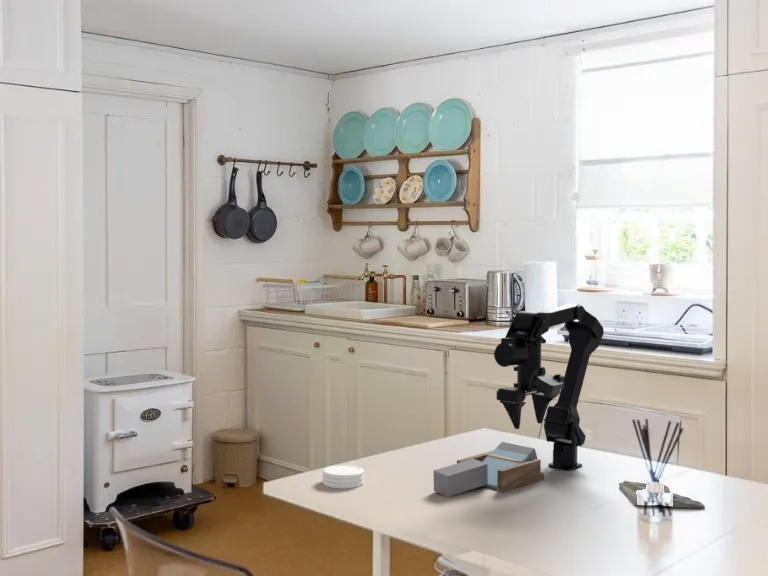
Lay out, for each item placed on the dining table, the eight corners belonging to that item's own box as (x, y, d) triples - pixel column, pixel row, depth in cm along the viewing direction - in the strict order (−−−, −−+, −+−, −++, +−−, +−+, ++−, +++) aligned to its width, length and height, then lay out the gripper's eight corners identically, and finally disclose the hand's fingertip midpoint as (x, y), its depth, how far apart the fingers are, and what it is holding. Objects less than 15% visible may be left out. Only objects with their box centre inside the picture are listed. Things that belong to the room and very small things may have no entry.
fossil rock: (616, 489, 215) (616, 479, 215) (678, 489, 215) (678, 479, 215) (637, 511, 197) (637, 500, 197) (705, 511, 197) (705, 500, 197)
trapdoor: (537, 458, 223) (534, 447, 221) (500, 496, 213) (497, 485, 212) (505, 451, 230) (502, 441, 229) (467, 488, 220) (464, 477, 219)
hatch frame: (544, 478, 221) (544, 458, 221) (502, 492, 210) (502, 471, 210) (498, 468, 231) (499, 448, 231) (456, 480, 220) (456, 460, 219)
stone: (472, 458, 217) (433, 470, 209) (487, 463, 213) (447, 476, 205) (473, 478, 218) (433, 491, 210) (487, 484, 214) (448, 497, 206)
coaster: (335, 492, 211) (335, 477, 211) (315, 482, 219) (315, 468, 219) (371, 485, 216) (371, 471, 216) (350, 476, 225) (350, 462, 225)
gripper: (533, 370, 208) (532, 437, 209) (578, 362, 221) (578, 425, 222) (495, 365, 216) (494, 429, 217) (541, 357, 229) (540, 418, 230)
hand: (528, 426), depth 221 cm, fingers open, 9 cm apart
